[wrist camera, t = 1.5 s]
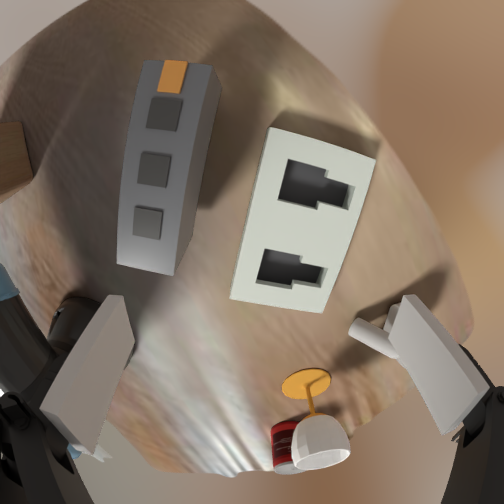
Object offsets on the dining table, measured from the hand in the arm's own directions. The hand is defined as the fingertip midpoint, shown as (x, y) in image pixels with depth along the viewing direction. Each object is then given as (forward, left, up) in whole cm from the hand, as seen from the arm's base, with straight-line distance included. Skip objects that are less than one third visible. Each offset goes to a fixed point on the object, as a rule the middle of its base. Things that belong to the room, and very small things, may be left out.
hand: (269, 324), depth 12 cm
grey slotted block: (-8, +4, -20) cm, 22 cm away
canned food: (+19, -46, -22) cm, 54 cm away
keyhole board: (+6, -1, -21) cm, 22 cm away
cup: (+17, -29, -21) cm, 40 cm away
